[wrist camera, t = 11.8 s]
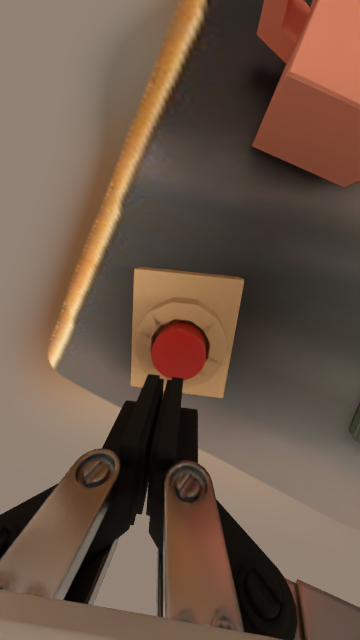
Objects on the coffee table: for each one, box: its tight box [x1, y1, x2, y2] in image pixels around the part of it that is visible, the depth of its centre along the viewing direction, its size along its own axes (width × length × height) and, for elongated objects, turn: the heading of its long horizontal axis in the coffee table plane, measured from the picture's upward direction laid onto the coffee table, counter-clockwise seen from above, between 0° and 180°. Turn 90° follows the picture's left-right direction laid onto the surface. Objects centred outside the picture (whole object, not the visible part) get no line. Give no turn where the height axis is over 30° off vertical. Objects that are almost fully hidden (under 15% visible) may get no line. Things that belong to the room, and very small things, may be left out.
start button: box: [151, 322, 206, 380], centre depth 15 cm, size 4×4×2 cm
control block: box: [131, 267, 244, 398], centre depth 17 cm, size 10×8×4 cm
